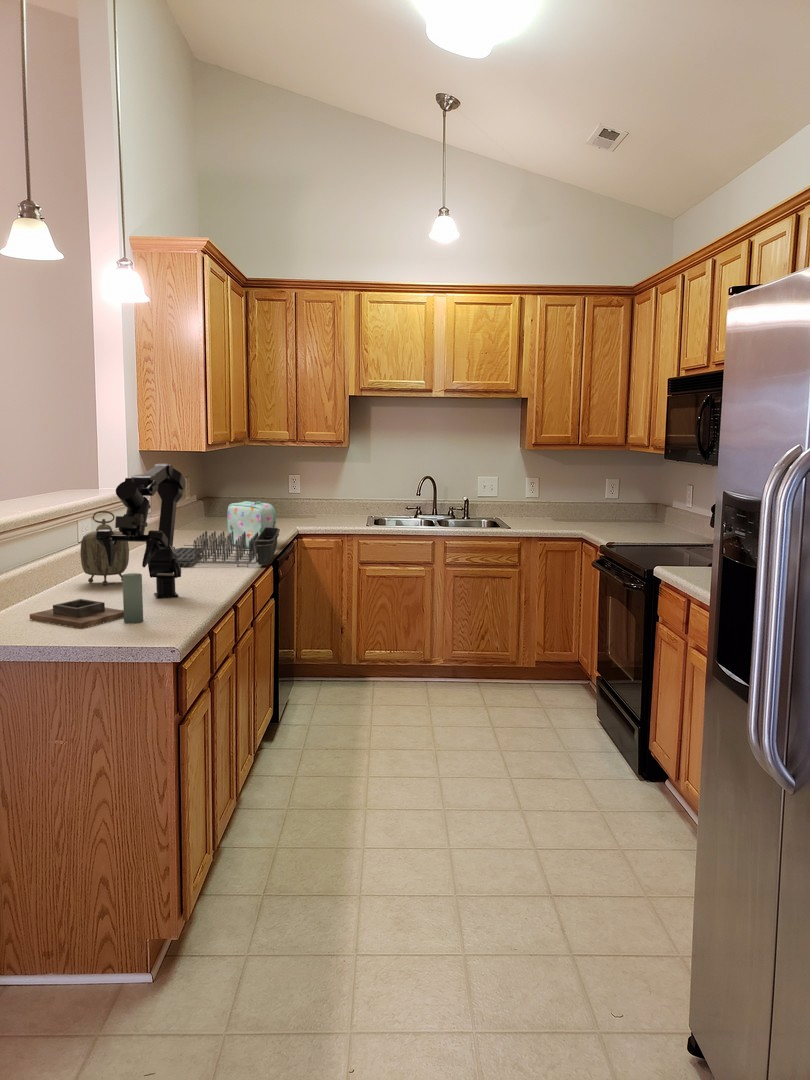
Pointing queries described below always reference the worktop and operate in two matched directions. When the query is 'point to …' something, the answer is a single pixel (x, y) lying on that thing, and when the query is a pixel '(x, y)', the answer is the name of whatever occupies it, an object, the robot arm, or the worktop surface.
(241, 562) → the dish rack
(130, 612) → the grey-green canister
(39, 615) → the walnut seat board
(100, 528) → the tabletop clock
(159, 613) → the worktop surface
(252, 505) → the lunch box
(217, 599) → the worktop surface
